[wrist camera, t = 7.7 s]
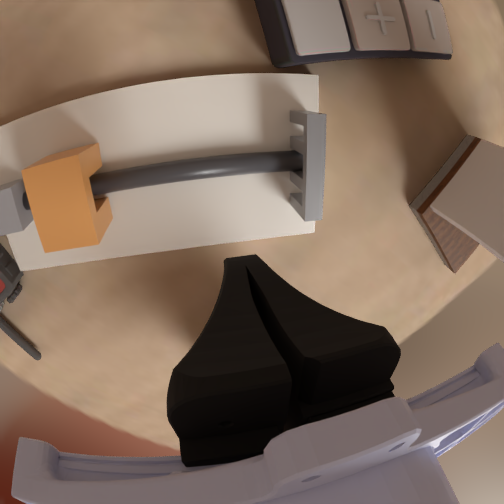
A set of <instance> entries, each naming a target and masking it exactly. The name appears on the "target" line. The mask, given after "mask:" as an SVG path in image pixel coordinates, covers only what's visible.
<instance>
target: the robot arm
mask: <svg viewBox="0 0 504 504" xmlns="http://www.w3.org/2000/svg"><path fill="white" fill-rule="evenodd" d="M400 356H401V351H400V348H399V347H398V345H397V343H396V342H395V340H394V339H393V337H392V336H391V334H390V333H389V332H388V331H387V329H386V328H385V327H383V326H379V325H375V324H371V323H367V322H364V321H360V320H357V319H354V318H352V317H349V316H346V315H343V314H341V313H338V312H336V311H334V310H332V309H330V308H328V307H325V306H323V305H321V304H319V303H318V302H316V301H314V300H312V299H311V298H309V297H307V296H306V295H304V294H302V293H301V292H299V291H298V290H297V289H295V288H294V287H292V286H291V285H290V284H289V283H287V282H286V281H285V280H284V279H282V278H281V277H280V276H279V275H278V274H276V273H275V272H274V271H273V270H272V269H271V268H270V267H269V266H268V265H267V264H266V263H265V262H264V261H263V260H262V259H261V258H260V257H259V256H257V255H256V254H255V255H247V256H240V257H232V258H226V259H225V260H224V276H223V281H222V285H221V289H220V293H219V296H218V299H217V302H216V304H215V307H214V309H213V312H212V314H211V316H210V318H209V320H208V322H207V324H206V326H205V328H204V329H203V331H202V333H201V334H200V336H199V338H198V339H197V340H196V342H195V343H194V345H193V346H192V348H191V349H190V350H189V352H188V353H187V354H186V355H185V357H184V358H183V359H182V360H181V361H180V362H179V363H178V365H177V366H176V367H175V368H174V369H173V372H172V375H171V379H170V383H169V387H168V393H167V417H168V421H169V423H170V424H171V426H172V428H173V429H174V431H175V433H176V434H177V436H178V438H179V441H180V452H181V456H165V457H111V456H95V455H83V454H73V453H65V452H59V451H58V450H57V449H56V448H55V447H53V446H52V445H51V444H49V443H47V442H45V441H41V440H35V439H29V438H24V437H20V438H19V442H18V447H17V453H16V460H15V466H14V474H13V483H12V493H11V495H12V496H13V497H14V498H16V499H18V500H20V501H22V502H24V503H27V504H459V502H458V500H457V498H456V495H455V493H454V491H453V489H452V487H451V485H450V483H449V481H448V479H447V477H446V475H445V473H444V471H443V470H442V468H441V465H440V464H439V462H438V460H437V457H439V456H440V455H442V454H443V453H445V452H446V451H448V450H449V449H451V448H452V447H453V446H455V445H457V444H458V443H459V442H461V441H462V440H464V439H465V438H466V437H468V436H469V435H470V434H472V433H473V432H474V431H476V430H477V429H478V428H480V427H481V426H482V425H484V424H485V423H486V422H487V421H489V420H490V419H491V418H492V417H494V416H495V415H496V414H497V413H498V412H499V411H500V410H501V409H502V408H503V407H504V349H503V347H502V346H501V345H500V344H499V343H496V344H495V345H493V346H491V347H489V348H488V349H487V350H485V351H484V352H482V353H481V354H480V356H479V357H478V358H477V360H476V361H475V363H474V365H473V366H472V367H470V368H468V369H466V370H465V371H463V372H461V373H459V374H458V375H456V376H454V377H452V378H450V379H448V380H447V381H445V382H443V383H441V384H439V385H437V386H435V387H433V388H431V389H429V390H427V391H425V392H423V393H420V394H418V395H416V396H414V397H412V398H410V399H408V400H405V399H403V398H400V397H395V396H394V394H393V392H392V390H393V389H394V385H393V383H392V382H391V380H390V378H391V376H392V374H393V372H394V370H395V368H396V366H397V364H398V361H399V358H400Z"/></svg>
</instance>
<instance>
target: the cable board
mask: <svg viewBox="0 0 504 504" xmlns="http://www.w3.org/2000/svg"><path fill="white" fill-rule="evenodd" d="M95 143H99V148H100V155H101V161H102V167H100V168H99V169H98V170H97V171H96V172H95V173H94V174H93V175H91V176H90V177H89V180H90V185H91V189H92V194H93V198H94V199H98V198H104V197H108V198H109V202H110V207H111V211H112V216H113V219H112V221H111V223H110V225H109V226H108V228H107V230H106V232H105V234H104V236H103V238H102V240H101V242H100V244H99V245H93V246H86V247H80V248H73V249H67V250H61V251H55V252H49V253H45V252H44V249H43V246H42V243H41V240H40V237H39V234H38V231H37V228H36V225H35V222H34V219H33V215H32V212H31V208H30V205H29V201H28V197H27V193H26V189H25V185H24V181H23V177H22V172H21V170H23V169H25V168H26V167H28V166H30V165H32V164H33V163H35V162H37V161H39V160H41V159H42V158H44V157H46V156H48V155H52V154H55V153H59V152H62V151H66V150H70V149H74V148H78V147H82V146H86V145H90V144H95ZM325 152H326V114H322V113H319V75H309V74H287V73H246V74H223V75H209V76H197V77H188V78H179V79H171V80H164V81H157V82H151V83H145V84H139V85H134V86H129V87H124V88H119V89H115V90H110V91H106V92H102V93H97V94H94V95H90V96H86V97H82V98H79V99H75V100H72V101H68V102H65V103H62V104H59V105H55V106H52V107H49V108H46V109H43V110H41V111H38V112H35V113H32V114H30V115H27V116H24V117H22V118H19V119H17V120H14V121H12V122H9V123H7V124H5V125H2V126H0V236H3V235H7V238H8V241H9V244H10V246H11V249H12V252H13V254H14V257H15V259H16V262H17V264H18V267H19V269H20V271H27V270H34V269H41V268H48V267H54V266H61V265H68V264H75V263H82V262H89V261H97V260H104V259H111V258H118V257H126V256H133V255H140V254H148V253H155V252H163V251H170V250H178V249H186V248H193V247H201V246H209V245H217V244H225V243H233V242H241V241H249V240H257V239H265V238H273V237H282V236H290V235H298V234H307V233H314V232H315V221H316V220H322V213H323V197H324V178H325Z"/></svg>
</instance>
